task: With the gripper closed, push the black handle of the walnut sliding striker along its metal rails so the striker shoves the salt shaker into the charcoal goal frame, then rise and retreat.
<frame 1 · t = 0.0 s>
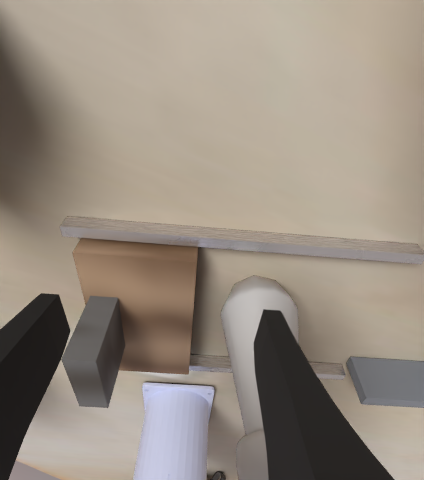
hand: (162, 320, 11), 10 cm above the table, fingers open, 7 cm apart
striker: (137, 341, 22), point 4 cm above the table, slide at 0.0 cm
salt shaker: (255, 291, 25), on the table
coffee press: (181, 477, 54), on the table
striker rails: (231, 308, 26), on the table
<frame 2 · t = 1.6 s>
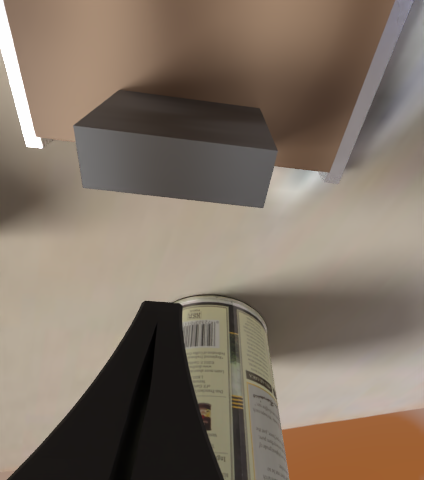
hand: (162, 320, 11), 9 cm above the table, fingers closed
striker: (190, 63, 11), point 4 cm above the table, slide at 0.0 cm
coffee can: (210, 331, 27), on the table
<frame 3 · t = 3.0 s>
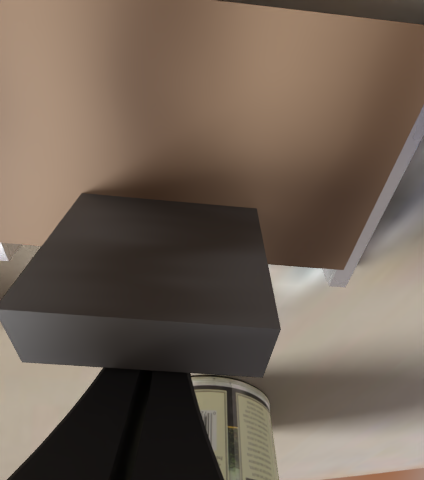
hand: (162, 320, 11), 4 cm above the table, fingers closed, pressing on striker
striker: (163, 180, 8), point 4 cm above the table, slide at 1.0 cm, touching gripper
coffee can: (208, 404, 25), on the table
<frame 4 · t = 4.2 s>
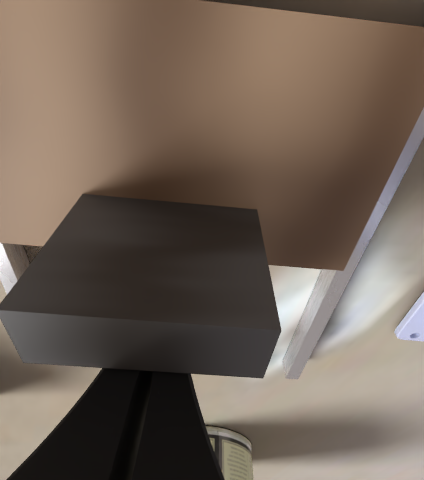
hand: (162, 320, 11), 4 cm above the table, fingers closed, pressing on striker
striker: (164, 181, 8), point 4 cm above the table, slide at 9.5 cm, touching gripper
coffee can: (201, 444, 30), on the table
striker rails: (177, 189, 13), on the table
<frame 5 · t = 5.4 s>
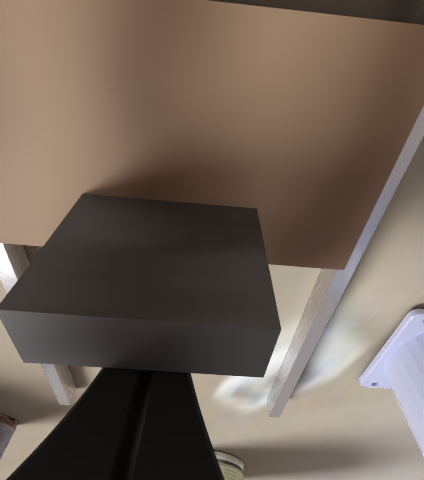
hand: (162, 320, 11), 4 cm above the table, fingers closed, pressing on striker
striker: (164, 181, 8), point 4 cm above the table, slide at 15.1 cm, touching gripper, salt shaker
coffee can: (198, 463, 33), on the table
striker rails: (175, 283, 16), on the table
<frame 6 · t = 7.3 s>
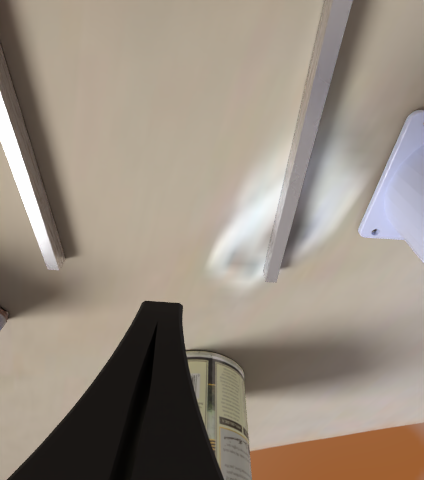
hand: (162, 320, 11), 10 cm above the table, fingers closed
coffee can: (197, 375, 32), on the table
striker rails: (158, 84, 15), on the table
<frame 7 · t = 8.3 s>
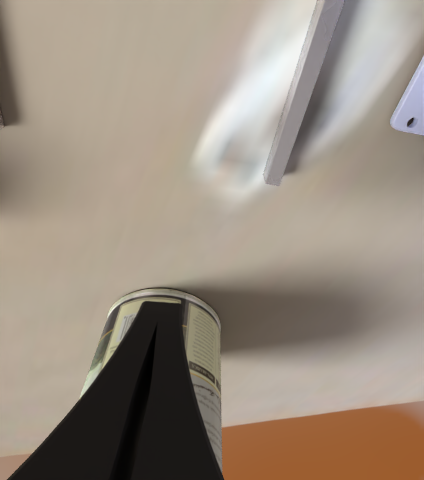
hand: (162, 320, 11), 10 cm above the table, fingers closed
coffee can: (166, 324, 27), on the table
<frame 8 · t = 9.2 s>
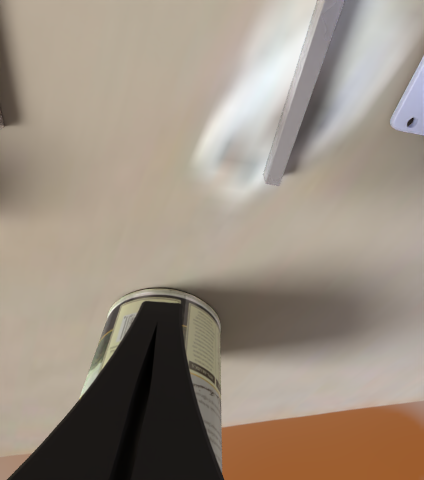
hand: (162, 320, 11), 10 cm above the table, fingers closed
coffee can: (166, 324, 27), on the table
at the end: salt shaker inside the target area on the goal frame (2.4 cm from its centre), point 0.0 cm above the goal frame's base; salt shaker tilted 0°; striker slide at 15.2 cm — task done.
